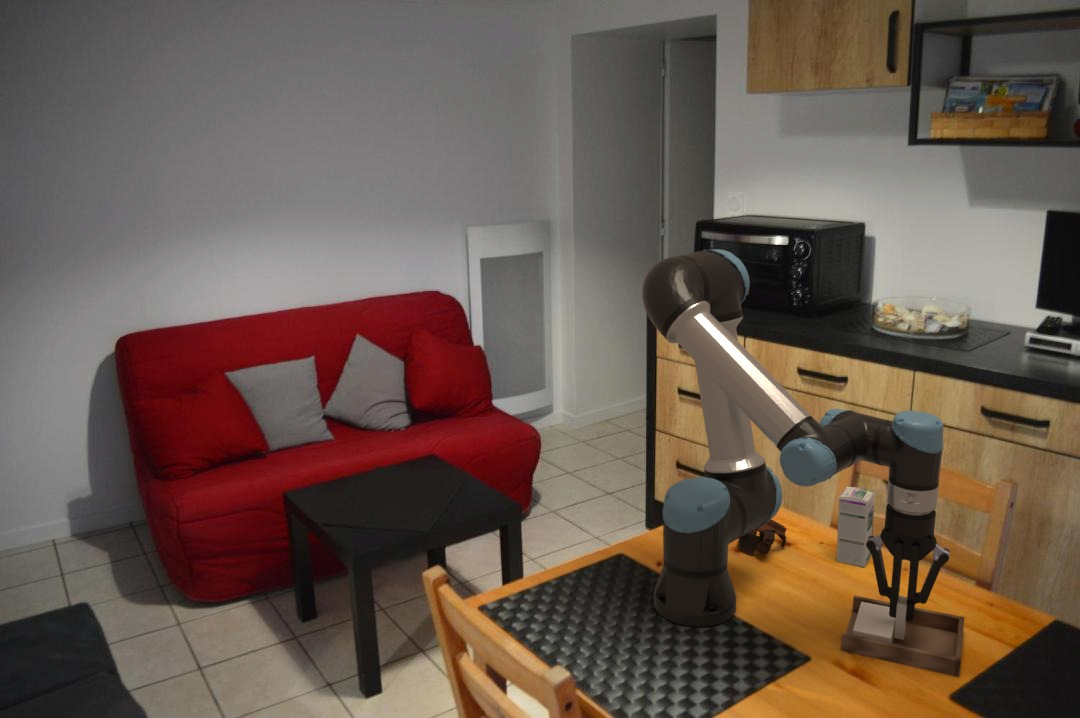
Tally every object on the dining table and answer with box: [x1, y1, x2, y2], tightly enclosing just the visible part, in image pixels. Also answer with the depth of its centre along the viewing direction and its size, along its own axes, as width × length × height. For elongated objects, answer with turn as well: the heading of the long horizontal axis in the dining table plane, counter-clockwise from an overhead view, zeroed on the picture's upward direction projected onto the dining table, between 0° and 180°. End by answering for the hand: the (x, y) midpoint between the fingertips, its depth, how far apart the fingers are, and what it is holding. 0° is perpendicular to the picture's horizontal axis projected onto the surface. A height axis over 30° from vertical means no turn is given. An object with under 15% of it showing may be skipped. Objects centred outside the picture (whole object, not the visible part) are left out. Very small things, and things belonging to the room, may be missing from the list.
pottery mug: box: [737, 519, 788, 557], centre depth 186 cm, size 12×10×8 cm
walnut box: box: [840, 595, 965, 678], centre depth 151 cm, size 18×14×4 cm
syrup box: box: [836, 486, 876, 568], centre depth 180 cm, size 6×6×14 cm
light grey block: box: [853, 602, 896, 643], centre depth 153 cm, size 6×10×3 cm, turn 153°
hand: (899, 634), depth 151 cm, fingers closed
